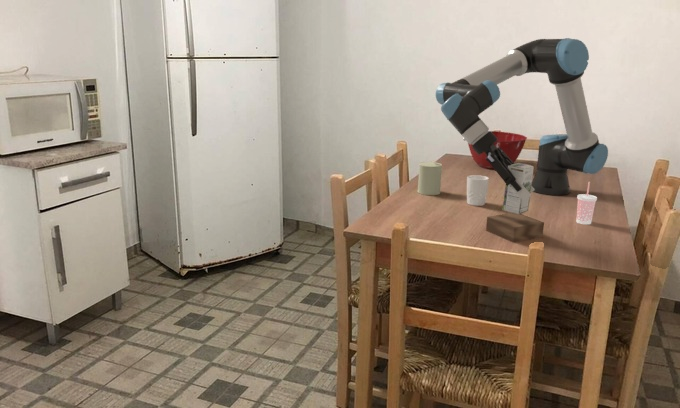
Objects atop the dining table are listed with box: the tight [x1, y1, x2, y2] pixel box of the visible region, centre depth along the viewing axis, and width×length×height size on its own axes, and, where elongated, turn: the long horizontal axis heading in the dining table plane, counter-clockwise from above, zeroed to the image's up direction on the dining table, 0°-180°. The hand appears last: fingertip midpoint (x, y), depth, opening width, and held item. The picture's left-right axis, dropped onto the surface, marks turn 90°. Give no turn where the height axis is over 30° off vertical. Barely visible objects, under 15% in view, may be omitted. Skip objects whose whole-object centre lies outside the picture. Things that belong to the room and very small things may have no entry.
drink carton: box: [502, 162, 535, 214], centre depth 170 cm, size 6×6×14 cm
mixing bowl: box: [467, 130, 528, 170], centre depth 271 cm, size 28×28×15 cm
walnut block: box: [485, 212, 545, 243], centre depth 173 cm, size 12×12×5 cm
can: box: [417, 161, 443, 196], centre depth 221 cm, size 9×9×12 cm
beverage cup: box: [575, 181, 598, 225], centre depth 184 cm, size 6×6×14 cm
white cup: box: [466, 174, 490, 207], centre depth 206 cm, size 8×8×10 cm
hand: (529, 195), depth 169 cm, fingers closed on drink carton, 7 cm apart
